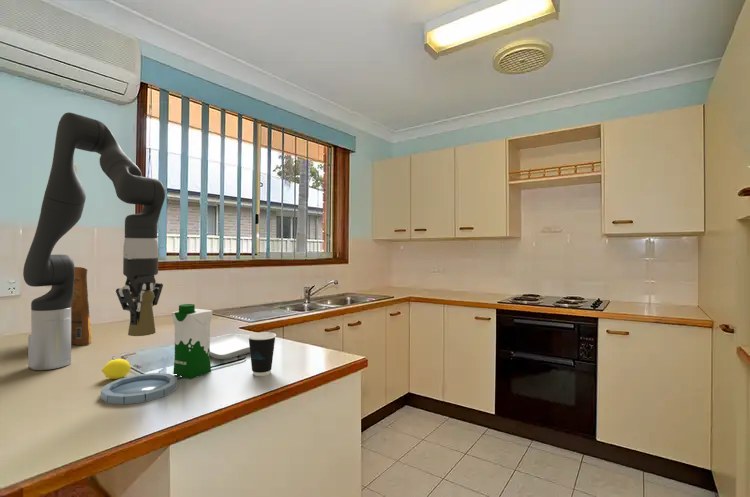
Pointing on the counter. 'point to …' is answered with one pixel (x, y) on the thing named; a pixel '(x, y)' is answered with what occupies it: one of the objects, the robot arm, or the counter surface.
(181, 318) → the milk carton
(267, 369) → the dixie cup
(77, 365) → the counter surface
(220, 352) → the salad plate
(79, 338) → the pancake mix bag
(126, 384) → the round dish
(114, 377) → the lemon
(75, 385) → the counter surface
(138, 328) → the tan pawn shape
